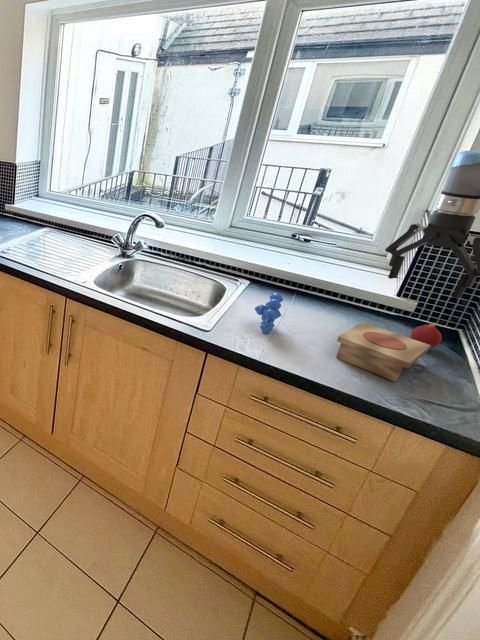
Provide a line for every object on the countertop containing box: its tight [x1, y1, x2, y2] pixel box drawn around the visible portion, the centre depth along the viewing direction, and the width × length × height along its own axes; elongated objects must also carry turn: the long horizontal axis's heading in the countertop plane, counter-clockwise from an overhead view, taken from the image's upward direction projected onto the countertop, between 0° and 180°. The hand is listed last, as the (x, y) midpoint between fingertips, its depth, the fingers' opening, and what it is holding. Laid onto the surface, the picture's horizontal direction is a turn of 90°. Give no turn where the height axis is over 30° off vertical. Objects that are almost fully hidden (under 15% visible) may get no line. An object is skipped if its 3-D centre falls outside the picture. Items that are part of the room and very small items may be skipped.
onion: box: [409, 323, 442, 348], centre depth 116 cm, size 6×6×8 cm
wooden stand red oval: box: [335, 321, 431, 382], centre depth 111 cm, size 14×16×6 cm
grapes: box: [254, 292, 284, 334], centre depth 124 cm, size 12×7×12 cm, turn 140°
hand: (422, 287), depth 116 cm, fingers open, 13 cm apart
